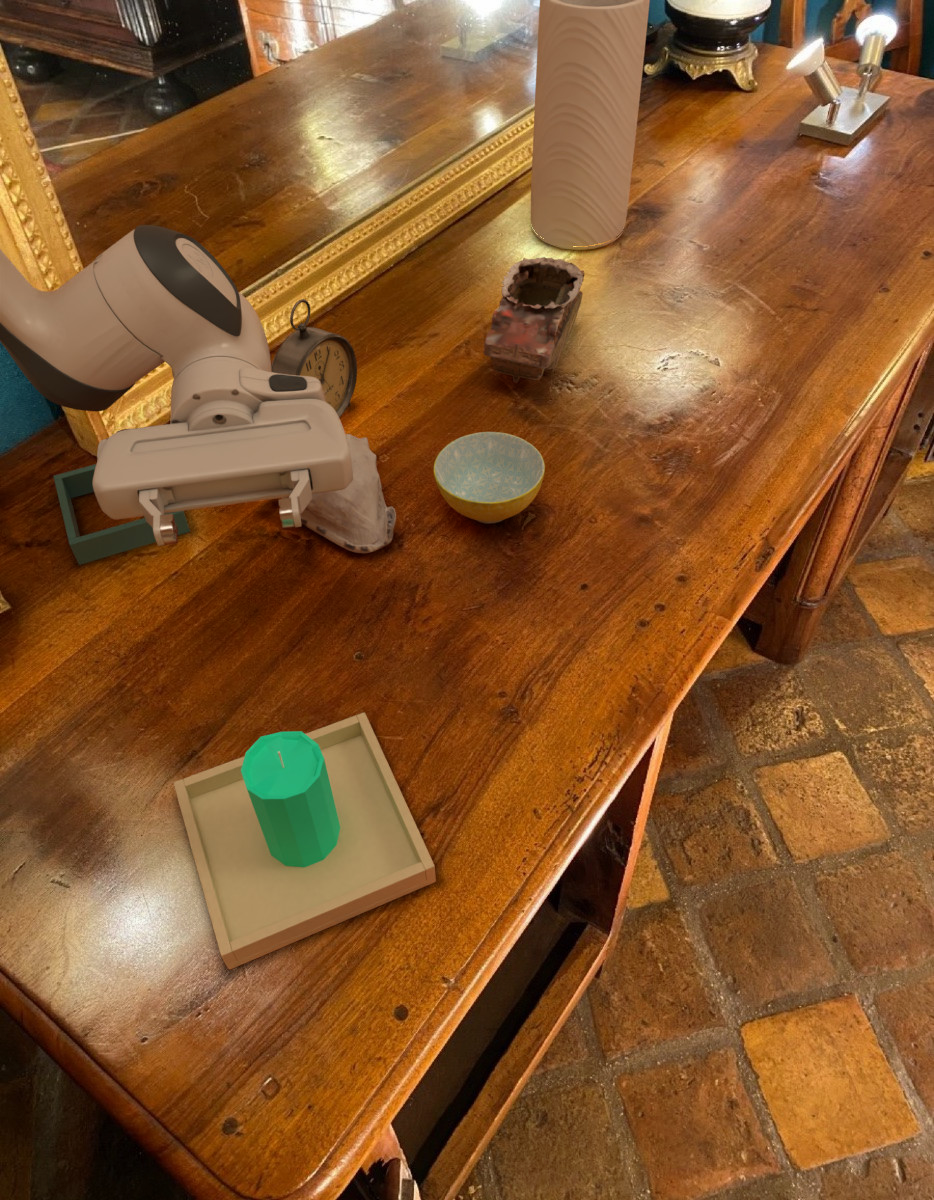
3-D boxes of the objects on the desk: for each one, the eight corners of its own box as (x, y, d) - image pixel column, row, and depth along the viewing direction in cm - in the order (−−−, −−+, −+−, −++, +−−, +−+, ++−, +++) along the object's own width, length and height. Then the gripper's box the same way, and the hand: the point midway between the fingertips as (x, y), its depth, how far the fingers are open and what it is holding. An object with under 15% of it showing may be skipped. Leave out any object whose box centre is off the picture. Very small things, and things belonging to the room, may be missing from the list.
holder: (79, 565, 97) (69, 544, 95) (62, 496, 104) (53, 475, 102) (190, 532, 100) (183, 511, 98) (166, 467, 107) (160, 446, 105)
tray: (228, 970, 70) (220, 956, 68) (181, 799, 79) (173, 782, 77) (436, 882, 74) (434, 866, 72) (367, 729, 83) (364, 711, 81)
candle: (343, 861, 74) (323, 782, 65) (266, 873, 74) (236, 795, 65) (337, 794, 78) (318, 711, 69) (264, 805, 78) (236, 723, 69)
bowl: (432, 478, 106) (429, 434, 101) (534, 471, 106) (536, 427, 101) (439, 550, 98) (437, 506, 93) (549, 542, 99) (552, 498, 94)
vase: (643, 226, 143) (675, -14, 119) (587, 264, 136) (608, 17, 112) (568, 198, 149) (583, -35, 125) (510, 232, 142) (514, -8, 118)
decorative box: (617, 330, 124) (626, 262, 117) (566, 418, 112) (571, 348, 105) (524, 309, 128) (526, 242, 121) (464, 392, 116) (463, 322, 109)
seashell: (377, 568, 96) (368, 495, 89) (268, 522, 101) (250, 449, 94) (438, 497, 103) (434, 423, 96) (333, 457, 108) (322, 384, 101)
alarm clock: (307, 456, 108) (284, 332, 96) (271, 440, 110) (244, 317, 98) (365, 406, 114) (350, 284, 102) (329, 392, 116) (311, 270, 104)
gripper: (87, 404, 77) (74, 518, 68) (337, 375, 80) (356, 481, 71) (110, 463, 82) (100, 578, 73) (345, 434, 85) (363, 541, 76)
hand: (228, 530), depth 72 cm, fingers open, 8 cm apart
